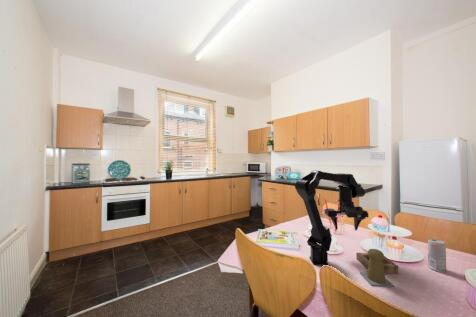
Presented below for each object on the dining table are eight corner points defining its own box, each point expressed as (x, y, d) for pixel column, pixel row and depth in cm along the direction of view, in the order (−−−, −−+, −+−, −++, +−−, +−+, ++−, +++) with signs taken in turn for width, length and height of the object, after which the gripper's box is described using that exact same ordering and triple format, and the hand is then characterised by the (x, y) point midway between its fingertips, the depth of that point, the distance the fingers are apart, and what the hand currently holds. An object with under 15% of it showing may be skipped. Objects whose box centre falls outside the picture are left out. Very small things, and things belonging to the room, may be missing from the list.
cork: (389, 284, 72) (388, 254, 72) (370, 282, 73) (370, 253, 73) (381, 274, 78) (380, 247, 78) (364, 273, 79) (363, 246, 79)
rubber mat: (371, 285, 72) (371, 284, 72) (360, 273, 80) (360, 272, 80) (394, 287, 71) (394, 285, 71) (380, 274, 79) (380, 272, 79)
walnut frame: (370, 272, 80) (370, 265, 80) (356, 258, 91) (356, 252, 91) (398, 273, 79) (398, 266, 79) (381, 259, 90) (381, 253, 90)
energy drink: (441, 267, 84) (440, 239, 84) (449, 273, 79) (449, 244, 79) (425, 264, 85) (425, 237, 86) (433, 271, 80) (432, 242, 81)
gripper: (332, 202, 89) (333, 235, 89) (375, 202, 87) (376, 236, 87) (324, 197, 100) (324, 227, 100) (361, 197, 98) (362, 228, 98)
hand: (346, 230), depth 96 cm, fingers open, 9 cm apart
